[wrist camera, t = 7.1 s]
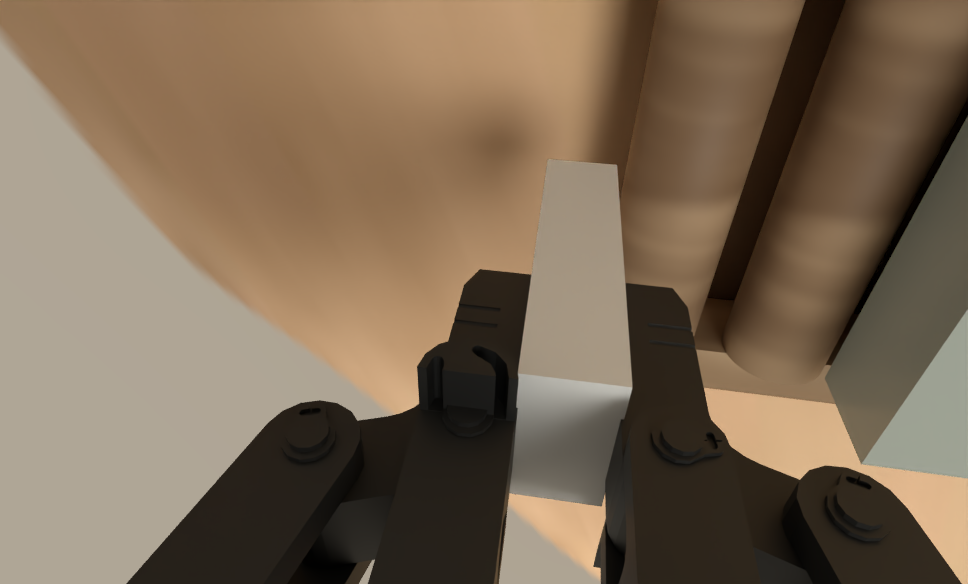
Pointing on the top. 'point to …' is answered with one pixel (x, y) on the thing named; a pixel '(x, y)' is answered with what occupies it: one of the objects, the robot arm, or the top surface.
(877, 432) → the stone slab
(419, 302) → the top surface
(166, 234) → the top surface
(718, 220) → the roller bed
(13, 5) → the top surface
